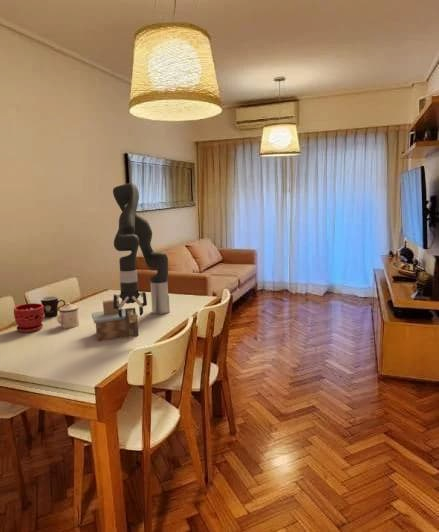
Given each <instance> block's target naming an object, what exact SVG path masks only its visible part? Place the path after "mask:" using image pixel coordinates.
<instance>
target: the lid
mask: <svg viewBox="0 0 439 532" xmlns="http://www.w3.org/2000/svg"><path fill="white" fill-rule="evenodd" d="M119 304H120V299H118V300H117V306H119ZM102 308H103V311H95V312H91V318H92V319H93V320H92V321H93V323H94V324H95V325H96V323H102V322H109V321H117V320H124V319H126V315H125V309H128V308H129V307H128V308H121V309H122V318H120V317H119V315H118V309H114V307H113V299H112V300H111V299H110V300H103V301H102ZM132 312H133V310H132ZM136 318H137V319H138V318H139V317H138V313H137V312H136ZM128 319H129V316H128Z"/></svg>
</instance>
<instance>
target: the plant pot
mask: <svg viewBox="0 0 439 532" xmlns="http://www.w3.org/2000/svg"><path fill="white" fill-rule="evenodd" d="M13 315H14V316H13V317H14V319H15V322H16V325H17V326H16V330H17V331H18V332H19V333H20V332H21V333H32V332H36V331H37V332H38V331H39V330H41V329H42V327H43V326H44V325H43V323H42V322H43V320H44V307H43V305H42V303H36V302H35V303H33V302H32V303H31V302H30V303H23V304H18V305H16V306H14V307H13Z"/></svg>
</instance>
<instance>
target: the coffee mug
mask: <svg viewBox="0 0 439 532" xmlns="http://www.w3.org/2000/svg"><path fill="white" fill-rule="evenodd" d="M59 302H63V305H62V307H63V306H65V305H66V302H65V301H64V300H63V299H60V300H59V297H58V296H53V295H52V296H45V297H42V298H40V304H42V305H43V307H44V315H43V317H44V318H45V319H48V318H49V319H51V318H55V317H56V318H57V317H58V312H59V309H60V308H59V306H58V305H59Z"/></svg>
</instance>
